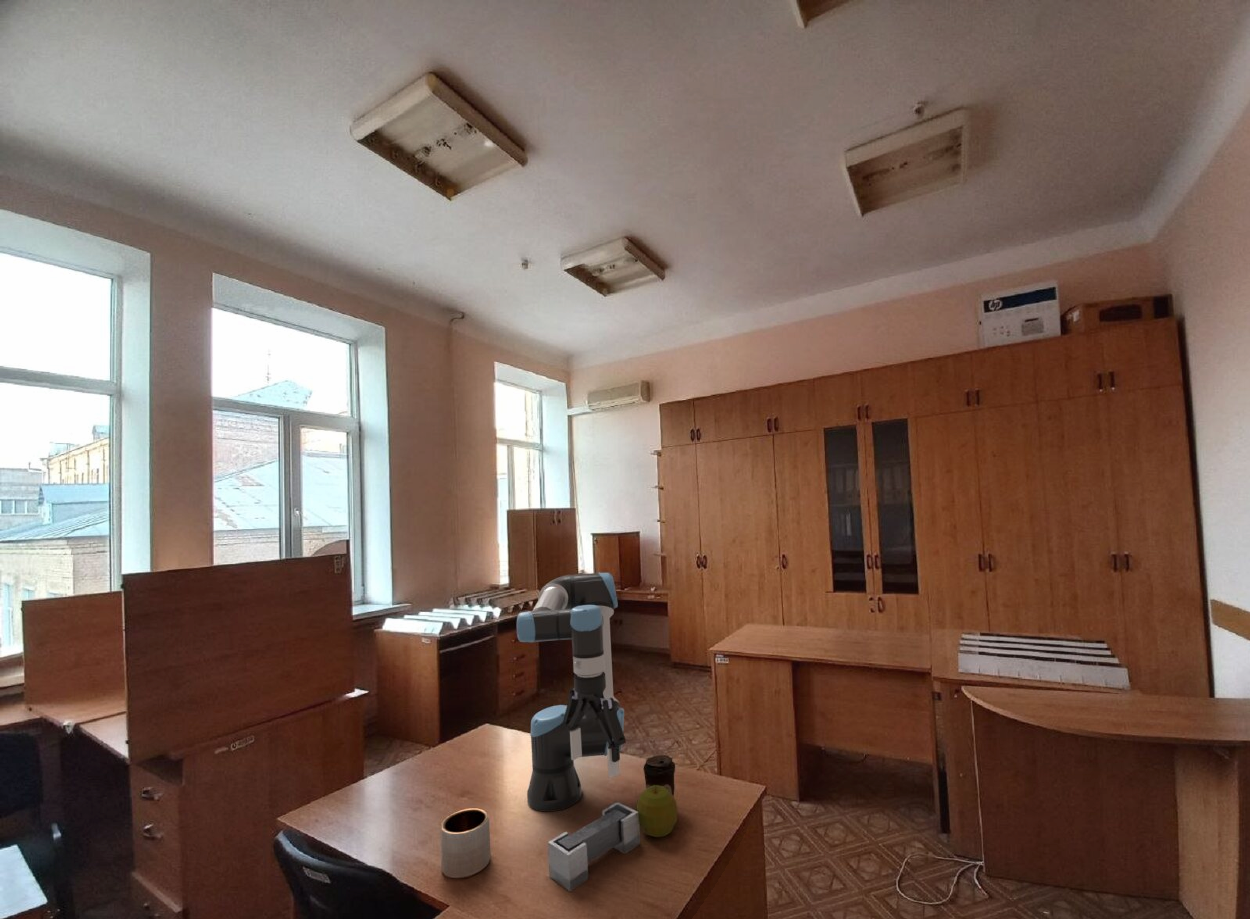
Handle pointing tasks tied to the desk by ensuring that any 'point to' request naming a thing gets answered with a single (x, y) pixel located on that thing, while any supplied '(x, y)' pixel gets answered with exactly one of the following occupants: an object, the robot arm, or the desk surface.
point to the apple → (657, 811)
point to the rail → (597, 835)
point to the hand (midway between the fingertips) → (594, 766)
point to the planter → (465, 842)
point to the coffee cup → (660, 772)
